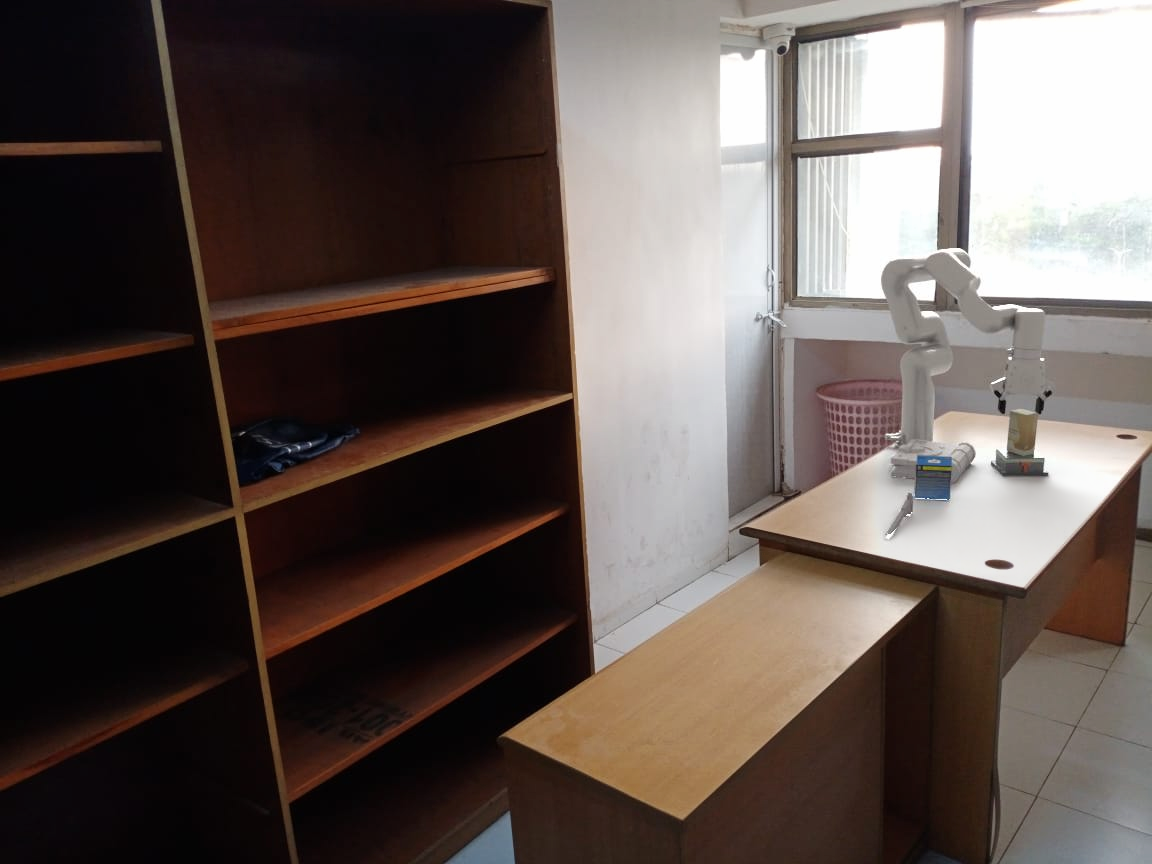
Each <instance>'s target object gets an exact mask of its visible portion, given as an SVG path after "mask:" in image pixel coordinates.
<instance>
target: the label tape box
mask: <svg viewBox="0 0 1152 864" xmlns="http://www.w3.org/2000/svg"><path fill="white" fill-rule="evenodd" d="M933 459H935V460H937V461H940V463H931V462H928V460H933ZM951 464H952V457H945V456H923V455H917V464H916V466H915V478H914V491H913V494H915V496H914V499H915V498H925V499H927V498H929V499H947V500H949V499H950V500H951V487H952V484H951V474H952V466H951Z"/></svg>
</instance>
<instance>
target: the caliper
mask: <svg viewBox="0 0 1152 864" xmlns="http://www.w3.org/2000/svg"><path fill="white" fill-rule="evenodd" d="M911 512H913V513H914V496H913V492H908V493H907V494H906V499H905V500H904V502H903V505H901V507H900V511H898V514H897V516H896V517H895V519H894V520H893V522H892V523H891V525H890V527H889V528H888V529H887V532H886V533H888V534H891V533H892V532H893V531H894V530H895V529H896V528H897V527H899V526H900V525H901V523H902V521H903V520H904V518H906V517H907V516H906V515H907V514H911ZM911 515H912V514H911ZM897 529H898V528H897ZM897 529H896V530H897Z"/></svg>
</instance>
